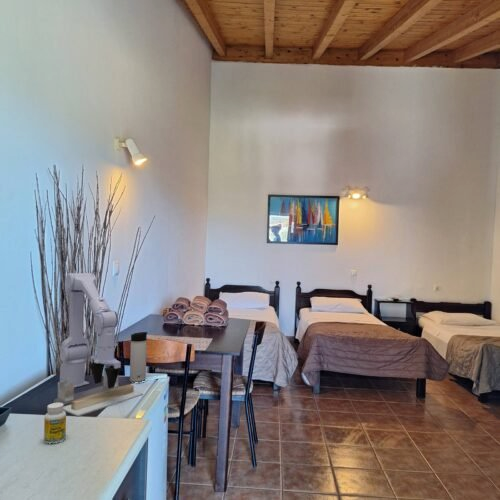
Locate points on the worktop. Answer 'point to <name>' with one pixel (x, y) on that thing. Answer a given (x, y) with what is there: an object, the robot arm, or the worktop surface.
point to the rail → (101, 397)
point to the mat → (102, 404)
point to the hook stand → (68, 395)
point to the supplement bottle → (55, 423)
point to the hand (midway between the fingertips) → (104, 385)
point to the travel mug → (138, 357)
